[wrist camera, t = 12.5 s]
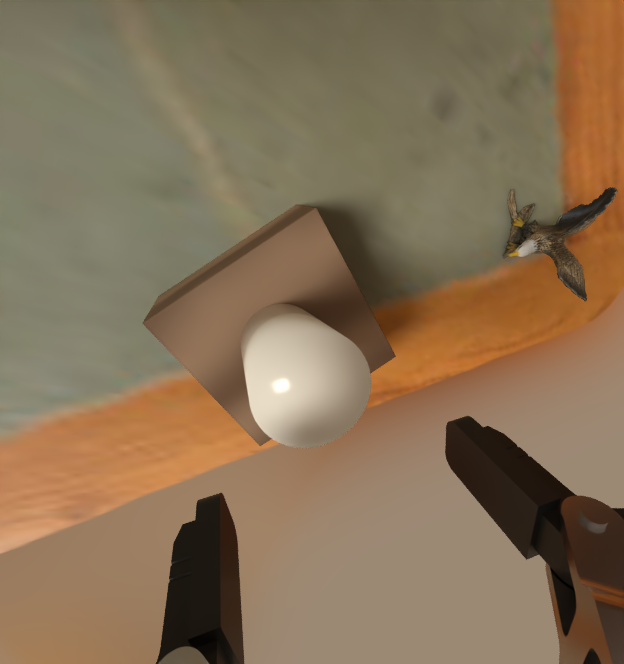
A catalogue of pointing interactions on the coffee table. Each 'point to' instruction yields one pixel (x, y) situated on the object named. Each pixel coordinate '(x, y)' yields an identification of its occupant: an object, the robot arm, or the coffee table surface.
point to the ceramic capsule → (302, 377)
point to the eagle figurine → (555, 237)
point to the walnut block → (262, 305)
